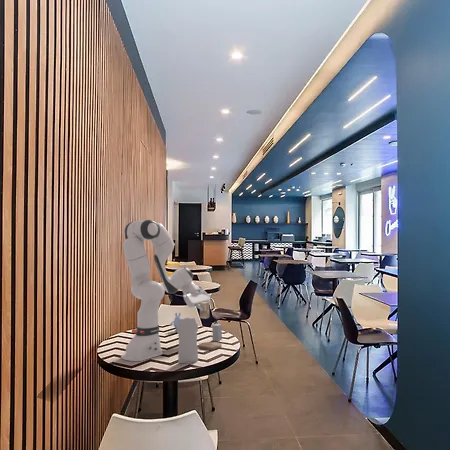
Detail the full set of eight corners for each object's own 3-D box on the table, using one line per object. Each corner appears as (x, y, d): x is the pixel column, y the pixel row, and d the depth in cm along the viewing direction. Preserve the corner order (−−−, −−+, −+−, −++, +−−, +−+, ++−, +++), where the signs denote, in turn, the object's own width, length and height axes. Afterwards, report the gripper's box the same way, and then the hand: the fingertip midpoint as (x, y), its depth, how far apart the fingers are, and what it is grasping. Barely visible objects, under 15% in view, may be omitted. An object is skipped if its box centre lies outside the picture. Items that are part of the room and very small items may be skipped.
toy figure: (185, 329, 260) (184, 311, 260) (187, 331, 254) (186, 312, 254) (169, 330, 257) (169, 312, 257) (170, 332, 251) (170, 314, 251)
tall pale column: (197, 359, 195) (196, 315, 195) (199, 362, 191) (198, 317, 191) (177, 362, 192) (176, 317, 192) (178, 364, 188) (177, 319, 188)
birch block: (205, 318, 226) (205, 303, 226) (199, 318, 228) (199, 302, 228) (209, 317, 229) (209, 302, 230) (203, 316, 231) (203, 301, 232)
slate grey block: (218, 341, 228) (217, 325, 228) (212, 340, 230) (212, 325, 231) (221, 339, 232) (221, 324, 232) (216, 338, 234) (215, 323, 234)
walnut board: (213, 351, 208) (213, 349, 208) (193, 348, 215) (193, 346, 215) (225, 345, 219) (225, 343, 219) (206, 342, 226) (206, 340, 226)
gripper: (184, 290, 224) (198, 308, 219) (204, 286, 242) (217, 303, 236) (178, 297, 226) (192, 316, 221) (198, 293, 244) (211, 310, 238)
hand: (205, 309), depth 229 cm, fingers closed on birch block, 4 cm apart
